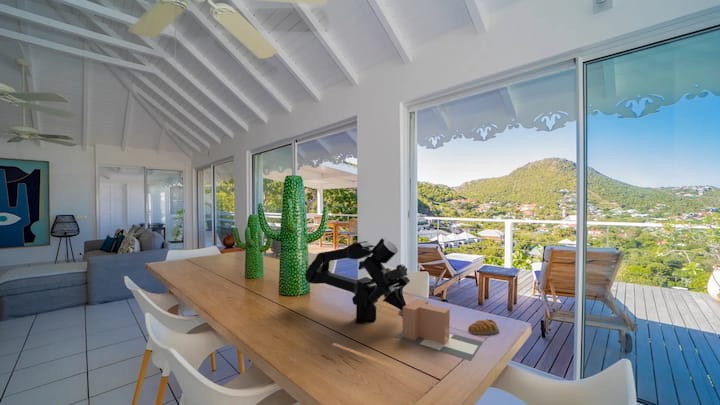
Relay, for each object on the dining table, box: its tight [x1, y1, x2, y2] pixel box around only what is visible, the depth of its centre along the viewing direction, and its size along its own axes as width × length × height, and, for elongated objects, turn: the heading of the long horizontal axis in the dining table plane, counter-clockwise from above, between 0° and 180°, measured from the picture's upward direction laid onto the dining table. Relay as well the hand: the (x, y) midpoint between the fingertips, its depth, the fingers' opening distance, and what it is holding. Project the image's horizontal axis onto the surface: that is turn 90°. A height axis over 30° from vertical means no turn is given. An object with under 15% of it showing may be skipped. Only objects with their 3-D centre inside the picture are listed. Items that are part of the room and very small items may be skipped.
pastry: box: [468, 318, 500, 336], centre depth 93 cm, size 9×7×4 cm
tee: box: [401, 298, 451, 344], centre depth 89 cm, size 12×10×9 cm
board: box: [394, 330, 484, 362], centre depth 87 cm, size 22×13×1 cm, turn 54°
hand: (406, 311), depth 93 cm, fingers closed
